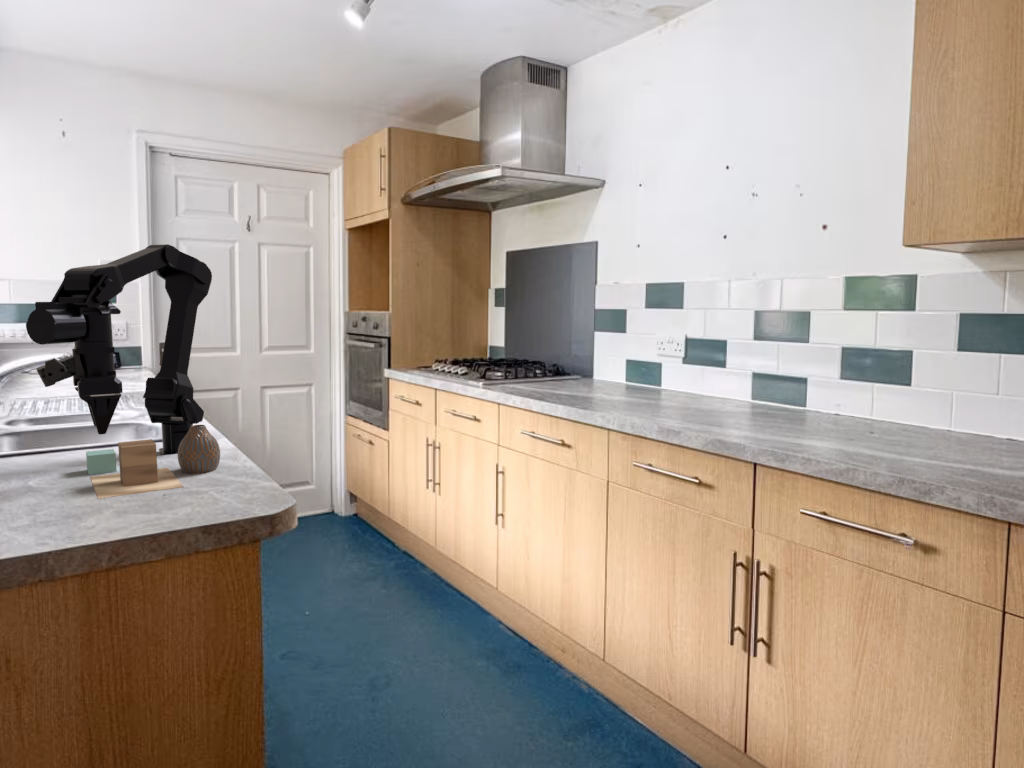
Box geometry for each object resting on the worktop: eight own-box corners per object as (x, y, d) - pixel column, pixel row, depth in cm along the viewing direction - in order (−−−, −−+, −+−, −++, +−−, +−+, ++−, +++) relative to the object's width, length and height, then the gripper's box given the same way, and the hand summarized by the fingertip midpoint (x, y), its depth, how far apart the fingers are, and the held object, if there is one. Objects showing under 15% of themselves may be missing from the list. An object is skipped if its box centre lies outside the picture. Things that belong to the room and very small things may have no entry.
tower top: (119, 461, 117) (118, 442, 117) (152, 457, 120) (151, 439, 120) (122, 467, 113) (121, 447, 113) (157, 463, 116) (155, 444, 116)
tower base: (120, 480, 118) (119, 461, 117) (153, 476, 120) (152, 457, 120) (123, 486, 113) (122, 467, 113) (158, 482, 116) (157, 463, 116)
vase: (170, 476, 124) (167, 427, 123) (203, 468, 130) (201, 421, 129) (196, 480, 121) (194, 430, 120) (229, 472, 127) (227, 424, 126)
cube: (87, 474, 125) (86, 451, 124) (114, 471, 127) (113, 448, 127) (89, 479, 121) (87, 455, 121) (116, 476, 124) (115, 453, 123)
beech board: (90, 481, 120) (90, 476, 120) (168, 471, 127) (167, 467, 127) (98, 503, 107) (97, 498, 107) (184, 491, 114) (183, 486, 113)
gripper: (37, 340, 125) (43, 426, 127) (38, 345, 109) (46, 444, 111) (109, 338, 131) (114, 420, 133) (119, 343, 116) (125, 436, 118)
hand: (99, 430), depth 124 cm, fingers open, 9 cm apart
